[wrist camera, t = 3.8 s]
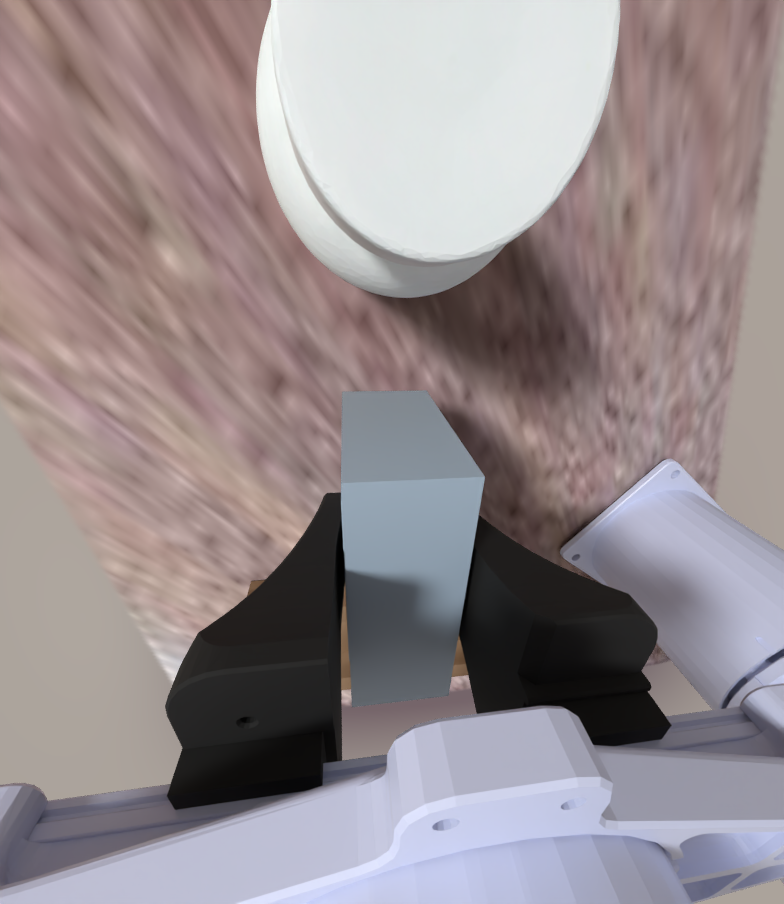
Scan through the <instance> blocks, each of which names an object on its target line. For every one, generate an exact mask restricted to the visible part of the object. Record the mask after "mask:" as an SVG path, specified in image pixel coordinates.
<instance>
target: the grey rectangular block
mask: <svg viewBox="0 0 784 904" xmlns="http://www.w3.org/2000/svg"><path fill="white" fill-rule="evenodd" d="M484 480H485V476H484V475H483V473H482V472H481V470H480V469H479V467H478V466H477V464H476V463H475V461H474V460H473V458H472V457H471V456H470V454H469V453H468V451H467V450H466V448H465V447H464V445H463V444H462V442H461V441H460V439H459V438H458V436H457V435H456V433H455V432H454V431H453V429H452V428H451V426H450V425H449V423H448V422H447V420H446V419H445V417H444V416H443V414H442V413H441V411H440V410H439V408H438V407H437V406H436V404H435V403H434V401H433V400H432V398H431V397H430V395H429V394H428V392H427V391H360V392H342V452H341V512H342V532H343V551H344V571H345V591H346V611H347V630H348V650H349V661H350V674H351V695H352V707H358V706H366V705H375V704H383V703H392V702H400V701H408V700H417V699H425V698H434V697H442V696H448V695H449V689H450V683H451V677H452V671H453V665H454V659H455V653H456V647H457V641H458V635H459V629H460V623H461V617H462V611H463V605H464V599H465V593H466V587H467V582H468V576H469V570H470V564H471V558H472V552H473V546H474V540H475V534H476V528H477V522H478V516H479V510H480V504H481V498H482V492H483V486H484Z"/></svg>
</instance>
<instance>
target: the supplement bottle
mask: <svg viewBox="0 0 784 904" xmlns="http://www.w3.org/2000/svg"><path fill="white" fill-rule="evenodd" d="M619 21H620V0H271V9H270V12H269V16H268V19H267V22H266V25H265V29H264V33H263V38H262V42H261V47H260V53H259V60H258V69H257V82H256V111H257V121H258V130H259V138H260V144H261V150H262V154H263V158H264V162H265V165H266V169H267V172H268V176H269V179H270V182H271V184H272V187H273V190H274V192H275V195H276V197H277V200H278V202H279V204H280V206H281V208H282V210H283V212H284V214H285V216H286V217H287V219H288V221H289V223H290V224H291V226H292V228H293V229H294V230H295V232H296V233H297V235H298V236H299V238H300V239H301V241H302V242H303V243H304V244H305V246H306V247H307V248H308V249H309V250H310V252H311V253H312V254H313V255H314V256H315V257H316V258H317V259H318V260H319V261H320V262H321V263H323V264H324V265H325V266H326V267H327V268H328V269H329V270H330V271H332V272H333V273H335V274H336V275H338V276H339V277H340V278H342V279H343V280H345V281H346V282H348V283H350V284H352V285H354V286H356V287H358V288H361V289H363V290H366V291H368V292H372V293H375V294H379V295H383V296H389V297H398V298H414V297H422V296H428V295H432V294H436V293H439V292H442V291H445V290H448V289H450V288H452V287H454V286H456V285H458V284H460V283H462V282H464V281H466V280H467V279H469V278H470V277H472V276H473V275H474V274H476V273H477V272H479V271H480V270H481V269H482V268H484V267H485V266H486V265H487V264H488V263H489V262H490V261H491V260H492V259H494V258H495V257H496V256H497V254H498V253H499V252H500V251H501V250H502V249H503V248H504V246H505V245H506V244H508V243H509V242H511V241H512V240H514V239H515V238H517V237H518V236H519V235H521V234H522V233H523V232H525V231H526V230H527V229H528V228H530V227H531V226H532V225H533V224H535V223H536V222H537V221H538V220H539V219H540V218H541V217H542V216H543V215H544V213H545V212H546V211H547V210H548V209H549V208H550V207H551V206H552V205H553V204H554V203H555V202H556V200H557V199H558V198H559V196H560V195H561V193H562V192H563V190H564V189H565V187H566V186H567V185H568V183H569V182H570V180H571V178H572V177H573V175H574V174H575V172H576V171H577V169H578V168H579V166H580V164H581V162H582V160H583V158H584V156H585V154H586V152H587V150H588V148H589V146H590V144H591V141H592V139H593V136H594V134H595V131H596V129H597V126H598V124H599V121H600V118H601V115H602V112H603V109H604V106H605V103H606V100H607V96H608V92H609V88H610V84H611V79H612V75H613V71H614V65H615V58H616V51H617V45H618V33H619Z"/></svg>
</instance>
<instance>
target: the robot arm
mask: <svg viewBox="0 0 784 904" xmlns="http://www.w3.org/2000/svg"><path fill="white" fill-rule="evenodd" d="M560 554H561V556H562V557H563V558H564V559H565V560H567V561H568V562H570V563H571V564H573V565H574V566H576V567H577V568H579V569H580V570H582V571H583V572H585V573H586V574H588V575H589V576H591V577H592V578H594V579H595V580H597V581H598V582H600V583H601V584H600V583H597V582H595V581H592V580H589V579H587V578H585V577H582V576H580V575H578V574H575V573H573V572H571V571H568V570H566V569H564V568H562V567H560V566H558V565H556V564H554V563H552V562H550V561H548V560H546V559H544V558H542V557H540V556H538V555H537V554H535V553H533V552H531V551H529V550H528V549H526V548H525V547H523V546H521V545H520V544H518V543H516V542H515V541H513V540H512V539H510V538H509V537H507V536H506V535H504V534H503V533H502V532H500V531H499V530H498V529H496V528H495V527H493V526H492V525H491V524H489V523H488V522H487V521H486V520H484V519H483V518H482V517H481V516H478V522H477V528H476V534H475V540H474V546H473V552H472V558H471V564H470V570H469V576H468V582H467V587H466V593H465V599H464V605H463V611H462V617H461V623H460V629H459V638H460V642H461V646H462V650H463V654H464V658H465V662H466V667H467V671H468V675H469V680H470V684H471V689H472V693H473V698H474V703H475V707H476V712H477V714H472V715H464V716H457V717H449V718H441V719H435V720H431V721H428V722H424V723H420V724H417V725H414V726H413V727H411V728H410V729H408V730H406V731H405V732H403V733H402V734H400V735H398V737H397V738H396V739H395V741H394V743H393V745H392V746H391V748H390V750H389V752H388V754H387V755H380V756H373V757H367V758H358V759H351V760H343V761H342V724H341V723H342V722H341V721H342V720H341V719H342V717H341V623H342V610H343V599H344V588H345V571H344V551H343V532H342V512H341V493H327V494H326V495H325V496H324V497H323V500H322V502H321V505H320V507H319V509H318V511H317V513H316V515H315V516H314V518H313V520H312V521H311V523H310V525H309V526H308V528H307V530H306V531H305V533H304V534H303V536H302V537H301V538H300V540H299V541H298V543H297V544H296V546H295V547H294V548H293V549H292V551H291V552H290V553H289V555H288V556H287V557H286V558H285V559H284V561H283V562H282V563H281V564H280V565H279V566H278V567H277V568H276V569H275V571H274V572H273V573H272V574H271V575H270V576H269V577H268V578H267V579H266V580H265V581H264V582H263V583H262V584H261V585H260V586H259V587H258V588H256V589H255V590H254V591H253V592H252V593H251V594H250V595H248V596H247V597H246V598H245V599H244V600H243V601H241V602H240V603H239V604H238V605H237V606H235V607H234V608H233V609H231V610H230V611H229V612H227V613H226V614H225V615H223V616H222V617H220V618H219V619H218V620H216V621H215V622H213V623H212V624H211V625H209V626H208V627H206V628H205V629H203V630H202V631H200V632H199V633H198V634H197V636H196V638H195V640H194V641H193V643H192V645H191V647H190V649H189V650H188V652H187V654H186V656H185V658H184V660H183V661H182V664H181V666H180V668H179V671H178V673H177V675H176V678H175V680H174V683H173V685H172V688H171V690H170V693H169V695H168V699H167V702H166V705H165V708H166V712H167V717H168V719H169V721H170V722H171V725H172V727H173V729H174V731H175V733H176V735H177V737H178V739H179V741H180V743H181V745H182V748H183V749H182V752H181V755H180V758H179V761H178V764H177V767H176V770H175V773H174V776H173V779H172V782H171V784H168V785H160V786H153V787H146V788H138V789H131V790H124V791H117V792H109V793H102V794H95V795H87V796H80V797H73V798H65V799H58V800H51V801H47V798H46V796H45V794H44V793H43V791H42V790H41V789H40V788H38V787H36V786H35V785H31V784H26V783H12V784H5V785H0V904H694V903H697V902H701V901H704V900H708V899H711V898H715V897H718V896H722V895H725V894H729V893H732V892H736V891H739V890H743V889H746V888H750V887H753V886H757V885H760V884H764V883H768V882H771V881H774V880H778V879H780V880H781V881H782V883H783V884H784V550H782V549H781V548H779V547H777V546H776V545H774V544H773V543H771V542H770V541H768V540H767V539H765V538H763V537H762V536H760V535H759V534H757V533H755V532H754V531H752V530H751V529H749V528H748V527H746V526H745V525H743V524H742V523H740V522H738V521H737V520H735V519H734V518H732V517H731V516H729V515H728V514H727V513H725V511H724V510H723V509H722V508H720V506H719V505H718V504H717V503H716V502H715V501H714V500H713V499H712V498H711V497H710V496H709V495H708V494H707V493H706V492H705V490H704V489H703V488H702V487H701V486H700V485H699V484H698V483H697V482H696V481H695V480H694V479H693V478H692V477H691V476H690V475H689V474H688V473H687V472H686V471H685V470H684V469H683V467H682V466H681V465H680V464H679V463H678V462H676V461H674V460H672V459H666V460H663V461H662V462H661V463H659V464H658V465H657V466H656V467H655V468H654V469H652V470H651V471H650V472H649V473H648V474H647V475H645V476H644V477H643V478H642V479H641V480H640V481H638V482H637V483H636V484H635V485H634V486H633V487H632V488H630V489H629V490H628V491H627V492H626V493H625V494H623V495H622V496H621V497H620V498H619V499H618V500H616V501H615V502H614V503H613V504H612V505H611V506H609V507H608V508H607V509H606V510H605V511H604V512H602V513H601V514H600V515H599V516H598V517H597V518H595V519H594V520H593V521H592V522H591V523H590V524H589V525H587V526H586V527H585V528H584V529H583V530H582V531H580V532H579V533H578V534H577V535H576V536H575V537H573V538H572V539H571V540H570V541H569V542H568V543H566V544H565V545H564V546H563V547H562V548H561V550H560ZM656 643H657V644H658V645H659V647H660V648H661V649H662V650H663V651H664V653H665V654H666V655H667V656H668V657H669V659H670V660H671V661H672V662H673V663H674V664H675V666H676V667H677V668H678V669H679V670H680V672H681V673H682V674H683V675H684V676H685V678H686V679H687V680H688V681H689V682H690V684H691V685H692V686H693V687H694V688H695V689H696V691H697V692H698V693H699V694H700V695H701V697H702V698H703V699H704V700H705V701H706V703H707V704H708V705H709V706H710V707H711V708H712V710H710V711H702V712H695V713H688V714H680V715H673V716H666V717H665V715H664V714H663V712H662V711H661V710H660V708H659V707H658V705H657V704H656V703H655V701H654V700H653V698H652V697H651V696H650V694H649V693H648V691H649V690H650V689H651V684H650V682H649V681H648V679H647V678H646V677H645V675H644V674H643V673H642V671H641V670H642V669H643V667H644V665H645V663H646V662H647V660H648V658H649V656H650V655H651V653H652V651H653V650H654V647H655V645H656Z"/></svg>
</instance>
